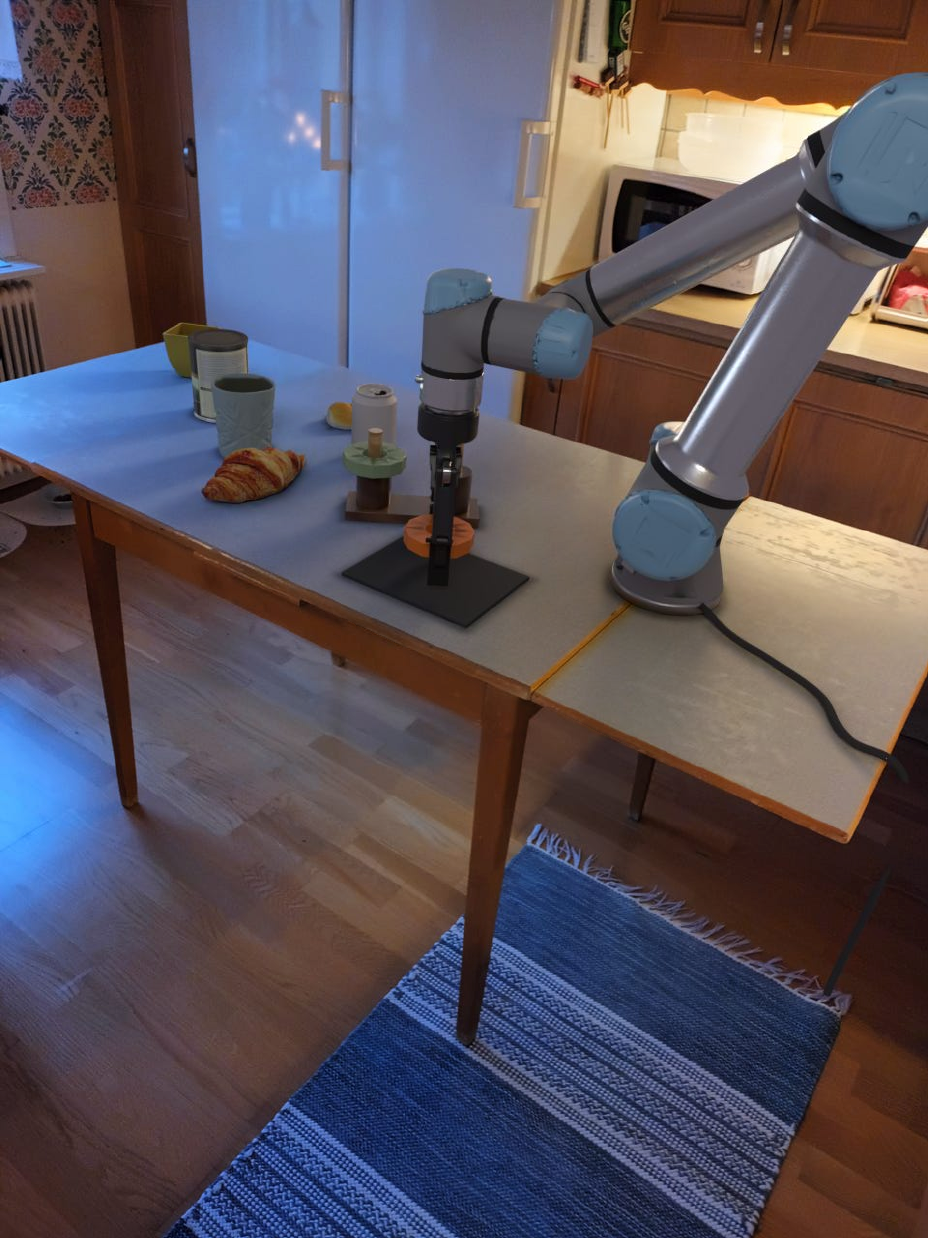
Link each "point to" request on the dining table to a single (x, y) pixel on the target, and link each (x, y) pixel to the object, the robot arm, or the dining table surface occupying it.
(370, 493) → the peg rack
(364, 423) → the can
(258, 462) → the croissant
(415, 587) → the mat
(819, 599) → the dining table surface
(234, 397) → the grey embossed cup
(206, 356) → the coffee can
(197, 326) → the flower pot
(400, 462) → the green disc
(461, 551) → the orange disc
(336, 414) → the bread roll
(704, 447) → the robot arm
